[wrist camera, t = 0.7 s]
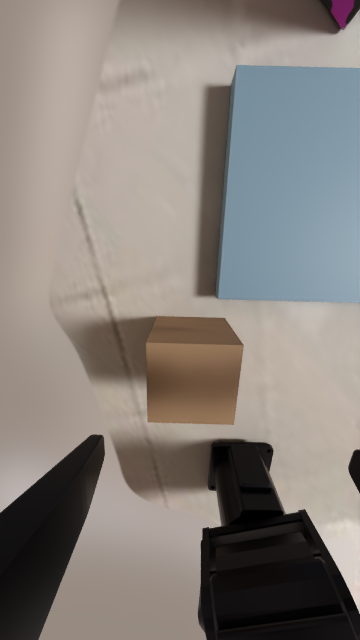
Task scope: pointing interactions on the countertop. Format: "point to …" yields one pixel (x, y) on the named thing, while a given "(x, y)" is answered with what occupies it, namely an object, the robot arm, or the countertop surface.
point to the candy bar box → (343, 10)
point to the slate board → (291, 186)
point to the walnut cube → (192, 370)
